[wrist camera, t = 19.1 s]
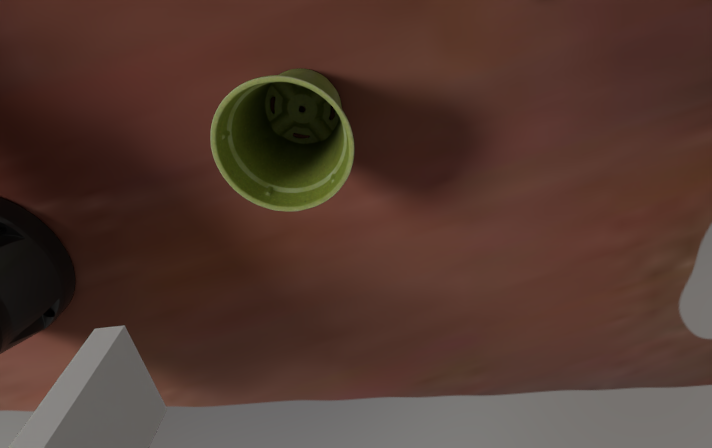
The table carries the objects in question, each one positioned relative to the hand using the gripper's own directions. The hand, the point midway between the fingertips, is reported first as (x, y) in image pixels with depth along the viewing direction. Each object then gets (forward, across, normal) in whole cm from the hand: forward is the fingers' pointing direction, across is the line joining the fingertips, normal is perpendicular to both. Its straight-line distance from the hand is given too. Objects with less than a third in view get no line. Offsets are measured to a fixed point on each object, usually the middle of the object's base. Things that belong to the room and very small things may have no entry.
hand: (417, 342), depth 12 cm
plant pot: (+33, -9, -4) cm, 34 cm away
